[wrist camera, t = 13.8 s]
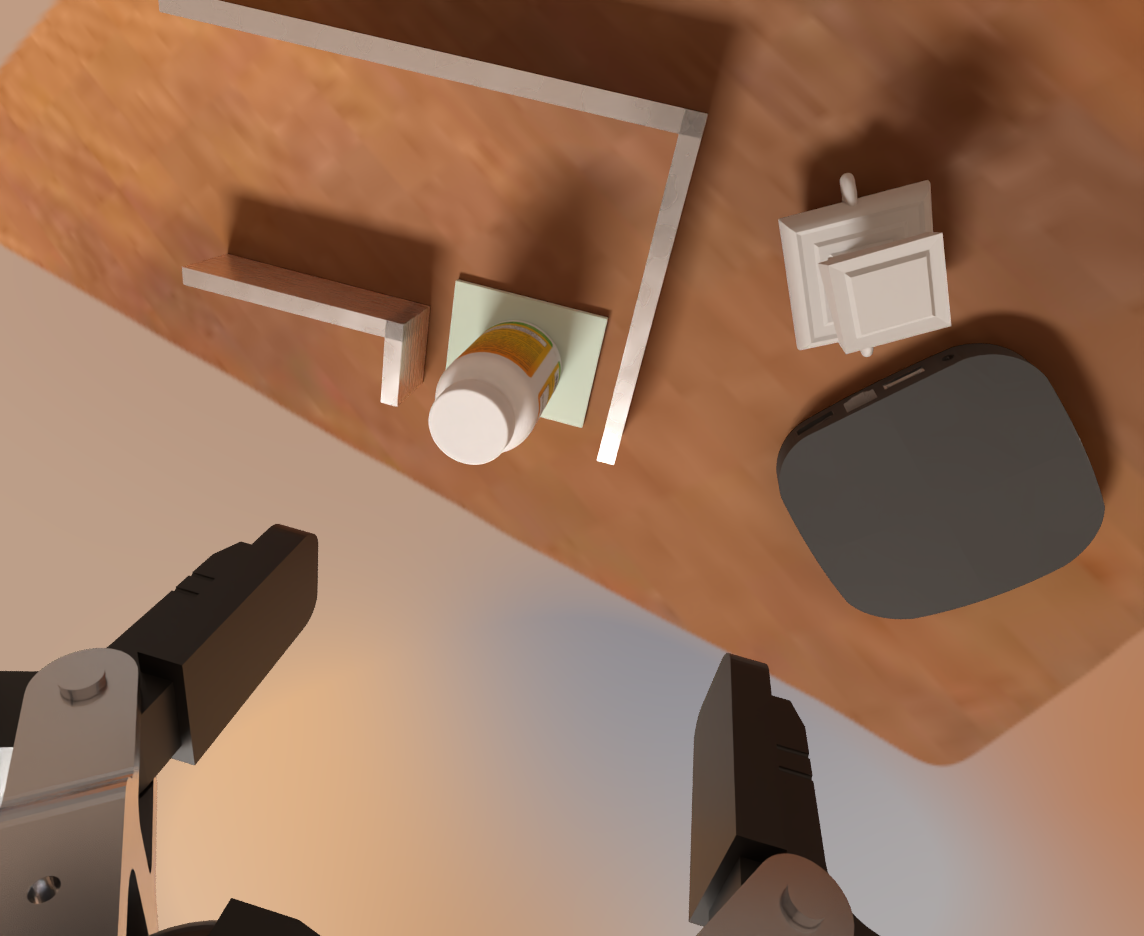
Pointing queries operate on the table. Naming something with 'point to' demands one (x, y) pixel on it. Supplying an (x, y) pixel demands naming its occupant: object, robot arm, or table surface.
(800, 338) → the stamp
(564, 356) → the pad
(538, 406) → the supplement bottle
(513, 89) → the channel
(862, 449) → the media streaming box
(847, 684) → the table surface
